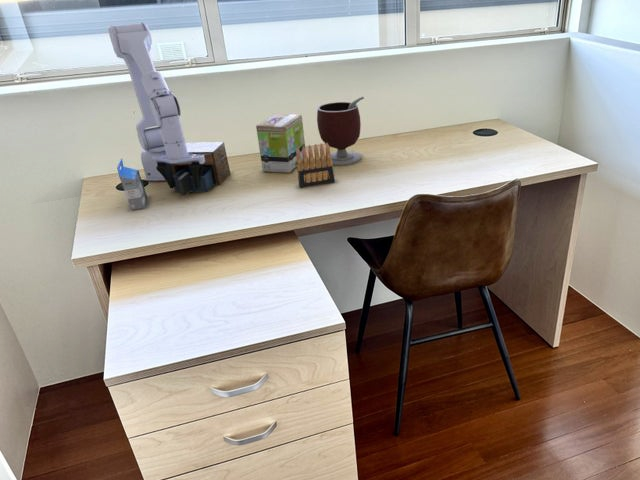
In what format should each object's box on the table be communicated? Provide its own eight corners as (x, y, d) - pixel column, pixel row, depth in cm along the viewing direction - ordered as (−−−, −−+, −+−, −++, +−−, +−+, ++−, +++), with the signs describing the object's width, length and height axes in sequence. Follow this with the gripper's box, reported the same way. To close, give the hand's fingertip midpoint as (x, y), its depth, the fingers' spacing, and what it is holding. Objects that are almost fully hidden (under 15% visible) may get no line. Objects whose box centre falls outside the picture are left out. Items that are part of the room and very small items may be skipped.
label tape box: (145, 208, 156) (132, 165, 150) (129, 210, 155) (116, 167, 149) (147, 197, 163) (135, 156, 157) (133, 199, 162) (120, 157, 156)
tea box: (291, 173, 176) (284, 126, 169) (262, 172, 178) (254, 125, 170) (307, 157, 189) (302, 113, 181) (279, 157, 191) (273, 112, 183)
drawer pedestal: (218, 187, 168) (210, 153, 163) (173, 187, 169) (164, 154, 164) (230, 173, 178) (223, 141, 173) (188, 174, 179) (180, 142, 174)
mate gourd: (318, 166, 181) (310, 102, 170) (325, 152, 193) (318, 92, 182) (365, 165, 180) (361, 101, 169) (369, 152, 192) (365, 91, 181)
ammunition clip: (333, 180, 170) (329, 141, 163) (335, 182, 168) (331, 142, 162) (298, 186, 167) (293, 146, 160) (300, 188, 165) (294, 148, 159)
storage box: (167, 199, 161) (161, 179, 158) (188, 179, 175) (183, 161, 172) (200, 199, 161) (195, 179, 157) (219, 179, 174) (215, 160, 171)
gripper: (142, 145, 152) (155, 192, 159) (193, 144, 151) (204, 192, 158) (153, 138, 158) (166, 183, 165) (203, 137, 157) (213, 183, 164)
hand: (185, 187), depth 162 cm, fingers open, 7 cm apart
